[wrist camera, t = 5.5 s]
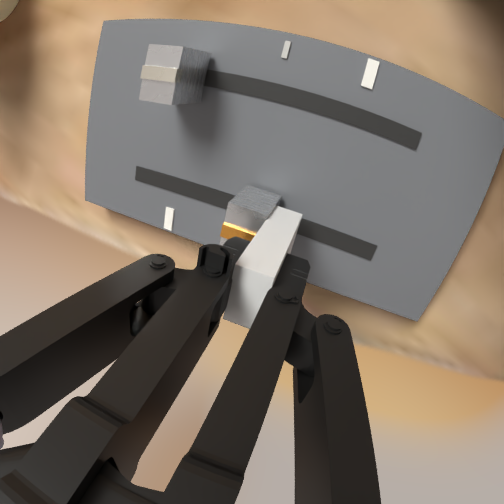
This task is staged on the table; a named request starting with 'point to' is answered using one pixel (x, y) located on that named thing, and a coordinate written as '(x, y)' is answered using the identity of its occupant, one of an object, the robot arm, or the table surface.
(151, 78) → the fader
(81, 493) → the robot arm
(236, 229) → the fader
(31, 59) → the table surface
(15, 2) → the reusable coffee cup
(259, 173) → the console
